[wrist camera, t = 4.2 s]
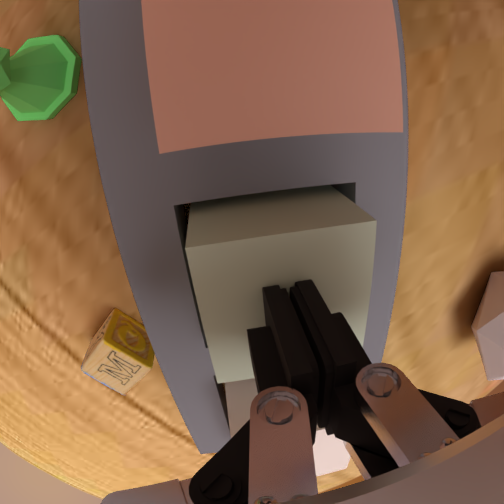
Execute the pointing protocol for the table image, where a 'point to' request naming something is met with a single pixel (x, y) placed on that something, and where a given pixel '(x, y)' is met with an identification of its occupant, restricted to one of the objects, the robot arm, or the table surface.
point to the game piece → (39, 77)
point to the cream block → (325, 447)
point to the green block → (275, 262)
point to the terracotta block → (270, 69)
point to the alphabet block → (119, 353)
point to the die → (491, 327)
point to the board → (213, 187)
